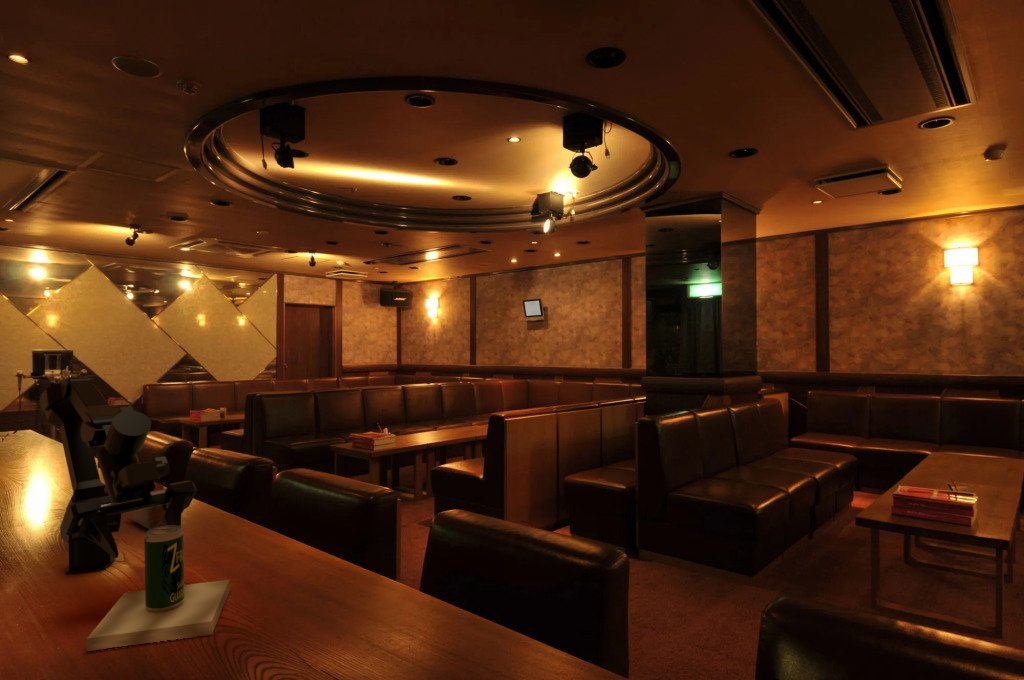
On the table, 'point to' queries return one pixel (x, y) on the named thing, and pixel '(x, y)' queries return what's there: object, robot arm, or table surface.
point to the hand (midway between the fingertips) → (148, 548)
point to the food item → (151, 512)
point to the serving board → (161, 617)
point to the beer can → (164, 568)
